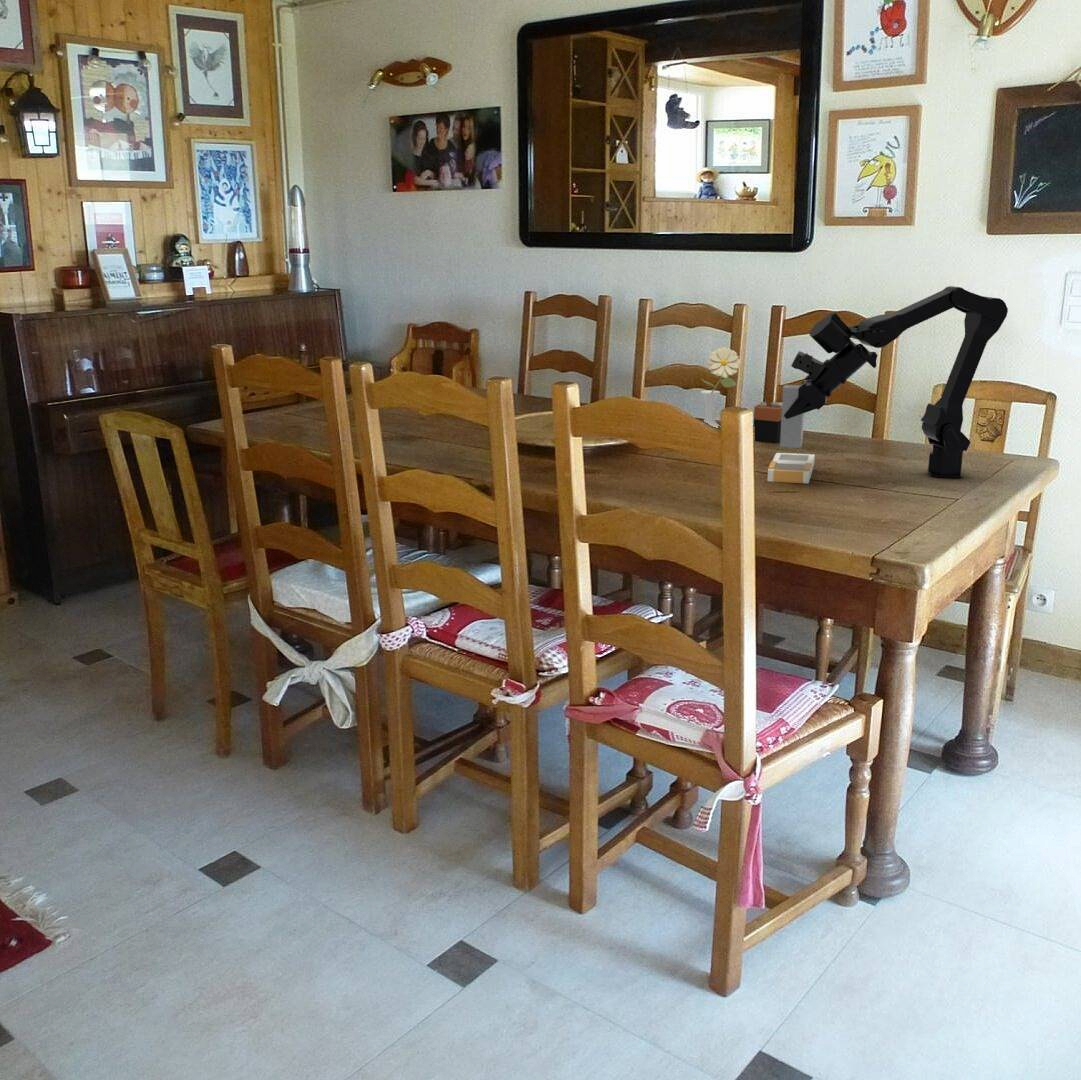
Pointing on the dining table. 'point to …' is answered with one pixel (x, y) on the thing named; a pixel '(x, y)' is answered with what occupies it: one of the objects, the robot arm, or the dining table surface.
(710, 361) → the flower in vase
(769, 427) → the battery
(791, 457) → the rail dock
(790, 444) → the metal peg
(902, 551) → the dining table surface
